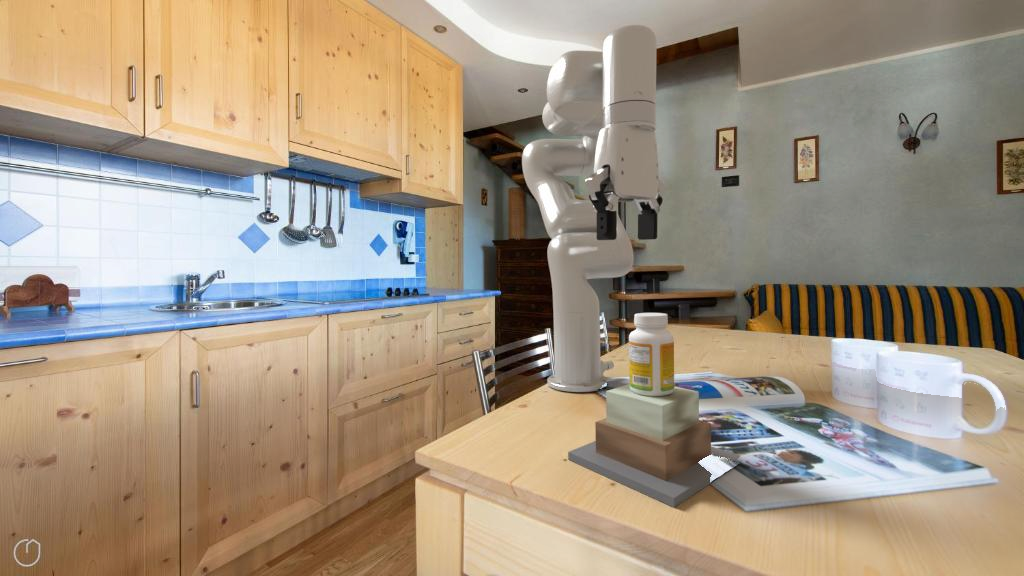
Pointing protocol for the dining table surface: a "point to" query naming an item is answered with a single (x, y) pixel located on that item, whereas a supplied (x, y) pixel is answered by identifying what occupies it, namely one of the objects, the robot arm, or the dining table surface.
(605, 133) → the robot arm
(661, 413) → the two-tone block stack
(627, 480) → the baseplate
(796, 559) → the dining table surface
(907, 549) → the dining table surface
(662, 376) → the supplement bottle
